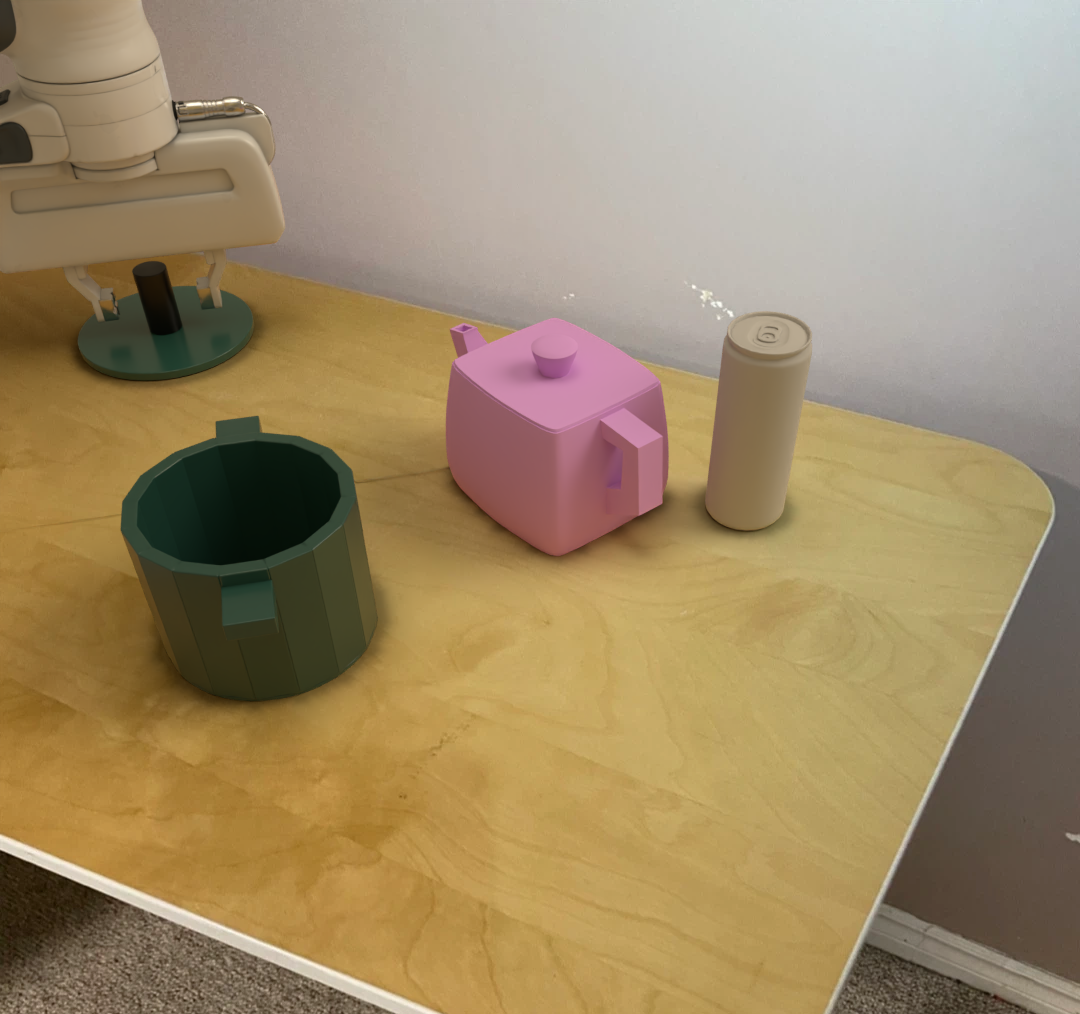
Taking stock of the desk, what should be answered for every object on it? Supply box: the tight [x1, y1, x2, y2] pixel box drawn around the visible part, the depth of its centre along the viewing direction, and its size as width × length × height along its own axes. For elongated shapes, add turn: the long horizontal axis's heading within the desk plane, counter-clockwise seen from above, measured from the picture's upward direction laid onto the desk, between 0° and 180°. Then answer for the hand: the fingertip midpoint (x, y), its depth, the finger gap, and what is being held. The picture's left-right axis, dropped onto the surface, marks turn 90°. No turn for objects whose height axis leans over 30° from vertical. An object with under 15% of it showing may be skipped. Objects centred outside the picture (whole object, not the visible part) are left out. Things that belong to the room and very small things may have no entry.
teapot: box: [445, 317, 670, 557], centre depth 67 cm, size 18×10×10 cm, turn 39°
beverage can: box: [704, 310, 813, 532], centre depth 65 cm, size 5×5×12 cm
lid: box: [77, 260, 255, 382], centre depth 82 cm, size 13×13×6 cm
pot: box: [119, 415, 379, 702], centre depth 59 cm, size 12×17×9 cm
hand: (161, 311), depth 82 cm, fingers open, 6 cm apart
